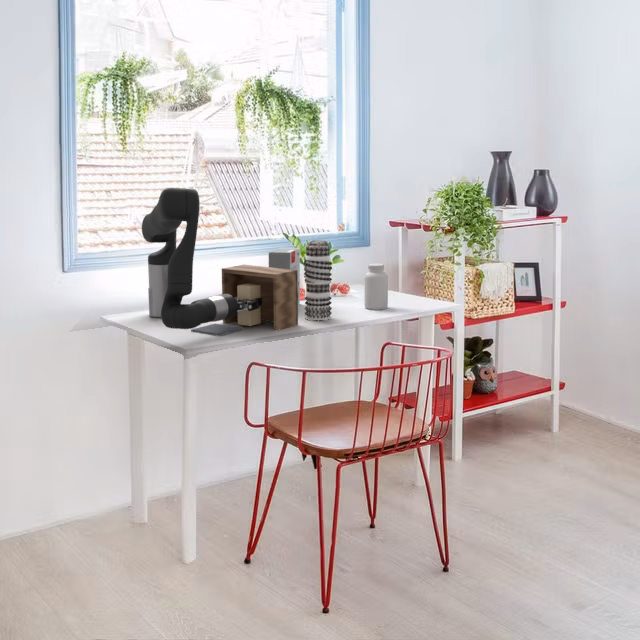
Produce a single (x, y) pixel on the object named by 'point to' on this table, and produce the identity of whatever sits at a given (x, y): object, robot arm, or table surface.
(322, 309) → the decorative candle
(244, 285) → the block
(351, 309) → the table surface
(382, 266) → the pill bottle
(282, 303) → the cubby
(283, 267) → the hard drive box
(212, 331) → the mat
